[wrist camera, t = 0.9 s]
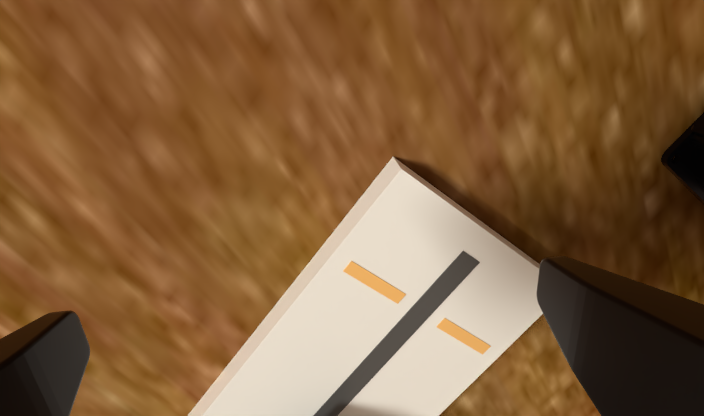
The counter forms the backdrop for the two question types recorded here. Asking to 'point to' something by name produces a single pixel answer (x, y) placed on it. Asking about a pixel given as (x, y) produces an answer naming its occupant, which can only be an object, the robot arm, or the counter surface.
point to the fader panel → (385, 313)
